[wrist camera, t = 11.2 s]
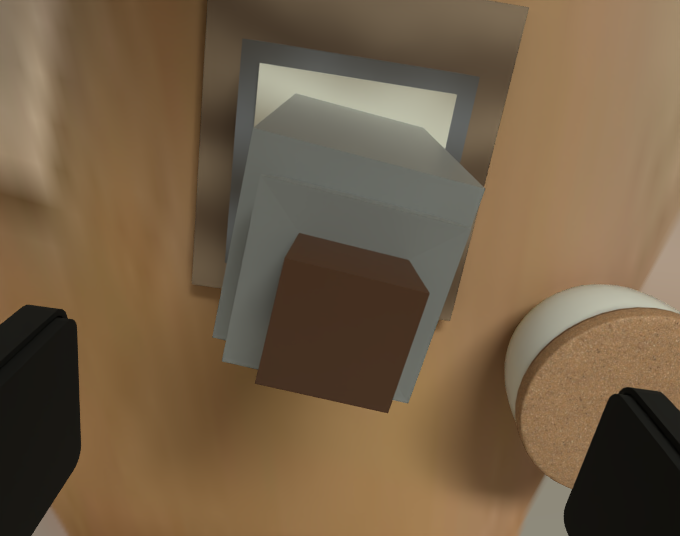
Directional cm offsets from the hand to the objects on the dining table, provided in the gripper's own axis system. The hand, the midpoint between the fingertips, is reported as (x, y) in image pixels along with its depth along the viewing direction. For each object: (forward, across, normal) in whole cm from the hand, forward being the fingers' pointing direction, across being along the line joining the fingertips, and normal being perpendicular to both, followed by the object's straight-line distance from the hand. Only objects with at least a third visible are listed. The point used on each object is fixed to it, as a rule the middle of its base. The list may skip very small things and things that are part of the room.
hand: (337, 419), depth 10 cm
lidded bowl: (+28, -18, +11) cm, 35 cm away
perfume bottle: (+21, 0, 0) cm, 21 cm away
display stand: (+28, 0, 0) cm, 28 cm away
